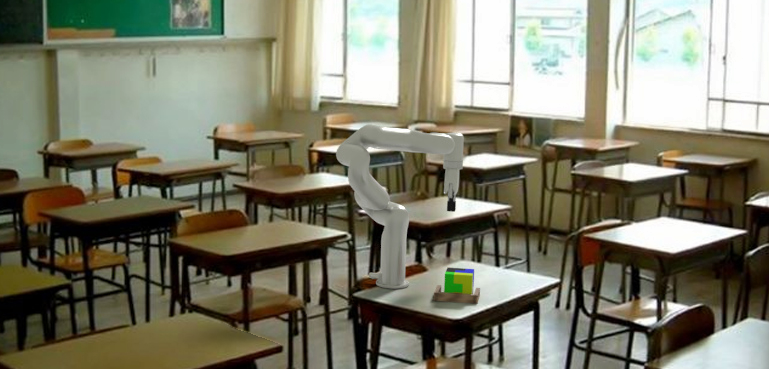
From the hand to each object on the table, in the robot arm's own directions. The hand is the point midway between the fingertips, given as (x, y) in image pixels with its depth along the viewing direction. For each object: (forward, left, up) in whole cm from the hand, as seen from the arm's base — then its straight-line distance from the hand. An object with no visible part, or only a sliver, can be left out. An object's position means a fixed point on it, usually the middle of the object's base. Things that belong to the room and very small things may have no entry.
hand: (451, 210), depth 418 cm
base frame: (+6, -29, -27) cm, 40 cm away
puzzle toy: (+6, -27, -27) cm, 39 cm away
